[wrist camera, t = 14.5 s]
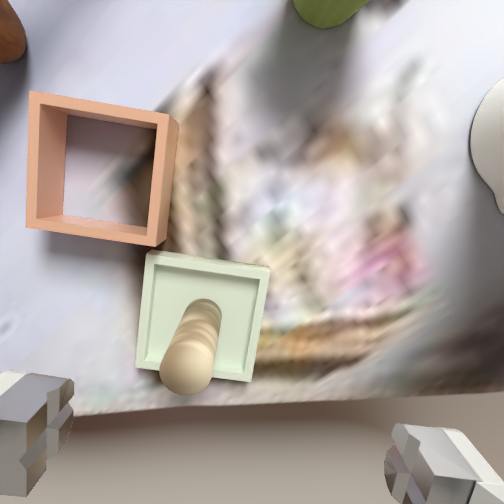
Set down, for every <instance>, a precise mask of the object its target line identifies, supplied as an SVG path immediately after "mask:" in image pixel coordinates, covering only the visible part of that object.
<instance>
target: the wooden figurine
mask: <svg viewBox="0 0 504 504" xmlns="http://www.w3.org/2000/svg"><path fill="white" fill-rule="evenodd" d="M25 49H26V36H25V30H24V28H23V26H22V23H21V21H20V19H19V18H18V16H17V14H16V13H15V11H14V9H13V8H12V6H11V5H10V3H9V2H8V0H0V63H1V64H3V63H8V62H12V61H16V60H17V59H19V58H20V57H22V55H23V53H24V51H25Z"/></svg>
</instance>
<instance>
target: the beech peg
mask: <svg viewBox="0 0 504 504" xmlns="http://www.w3.org/2000/svg"><path fill="white" fill-rule="evenodd" d="M221 320H222V313H221V310H220V308H219V306H218V305H217V304H216V303H215V302H213V301H211V300H209V299H204V298H202V299H197V300H194V301H192V302H191V303H190V304H189V305H188V306H187V308H186V310H185V312H184V314H183V316H182V318H181V320H180V323H179V325H178V327H177V329H176V331H175V333H174V335H173V338H172V340H171V342H170V344H169V346H168V348H167V350H166V353H165V355H164V357H163V359H162V361H161V364H160V368H159V373H160V378H161V380H162V382H163V384H164V385H165V386H166V387H167V388H168V389H169V390H171V391H172V392H174V393H177V394H181V395H192V394H196V393H198V392H200V391H202V390H203V389H205V388H206V387H207V385H208V384H209V382H210V380H211V378H212V372H213V367H214V361H215V355H216V349H217V343H218V337H219V331H220V326H221Z"/></svg>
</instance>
